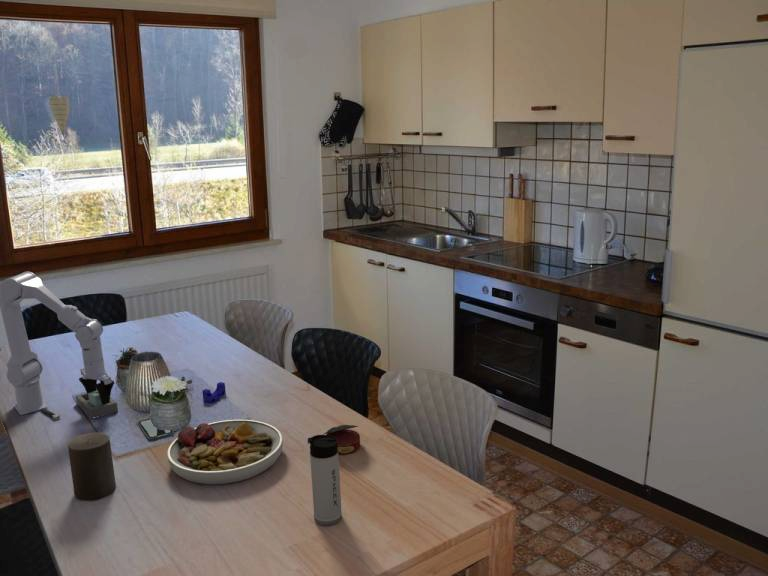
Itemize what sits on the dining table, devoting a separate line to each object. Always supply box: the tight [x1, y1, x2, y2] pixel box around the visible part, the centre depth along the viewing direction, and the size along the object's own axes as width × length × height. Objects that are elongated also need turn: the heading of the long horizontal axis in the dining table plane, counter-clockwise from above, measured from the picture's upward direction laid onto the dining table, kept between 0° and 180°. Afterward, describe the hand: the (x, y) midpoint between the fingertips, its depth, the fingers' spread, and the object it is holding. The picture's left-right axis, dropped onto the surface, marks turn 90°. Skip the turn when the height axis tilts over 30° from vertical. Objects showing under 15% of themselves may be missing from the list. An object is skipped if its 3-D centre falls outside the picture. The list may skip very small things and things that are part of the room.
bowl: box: [166, 419, 284, 485], centre depth 192 cm, size 30×30×8 cm
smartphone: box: [137, 417, 175, 442], centre depth 213 cm, size 7×1×15 cm
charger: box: [88, 390, 108, 408], centre depth 225 cm, size 4×4×5 cm
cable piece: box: [40, 408, 61, 421], centre depth 224 cm, size 10×1×1 cm, turn 49°
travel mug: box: [307, 434, 343, 527], centre depth 162 cm, size 6×7×20 cm
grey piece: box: [75, 392, 119, 419], centre depth 228 cm, size 15×8×3 cm, turn 39°
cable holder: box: [202, 381, 227, 404], centre depth 233 cm, size 8×4×4 cm, turn 148°
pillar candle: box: [67, 432, 117, 502], centre depth 178 cm, size 10×10×15 cm
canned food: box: [323, 424, 361, 456], centre depth 197 cm, size 11×10×10 cm
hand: (99, 400), depth 225 cm, fingers open, 7 cm apart
